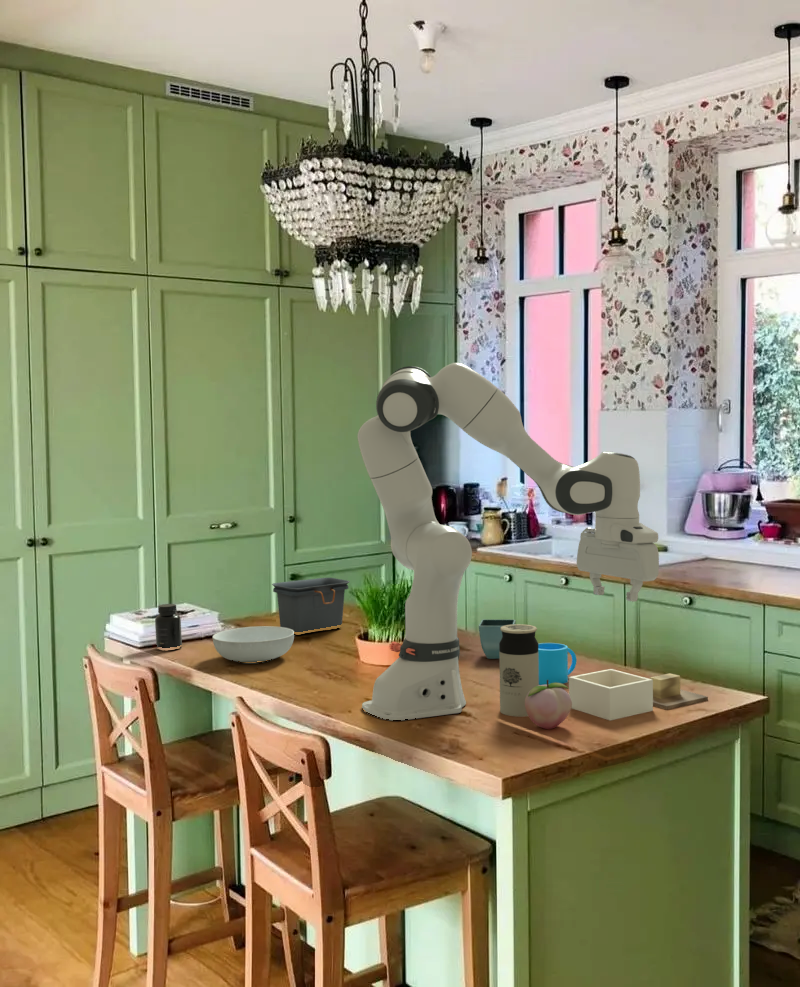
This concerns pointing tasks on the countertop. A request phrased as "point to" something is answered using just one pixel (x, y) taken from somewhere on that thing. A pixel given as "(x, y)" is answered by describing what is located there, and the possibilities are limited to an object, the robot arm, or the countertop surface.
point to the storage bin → (311, 603)
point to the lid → (672, 692)
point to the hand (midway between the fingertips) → (615, 597)
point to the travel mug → (517, 667)
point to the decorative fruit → (548, 705)
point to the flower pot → (492, 635)
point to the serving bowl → (253, 643)
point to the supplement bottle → (168, 627)
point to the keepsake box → (611, 694)
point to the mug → (554, 663)
